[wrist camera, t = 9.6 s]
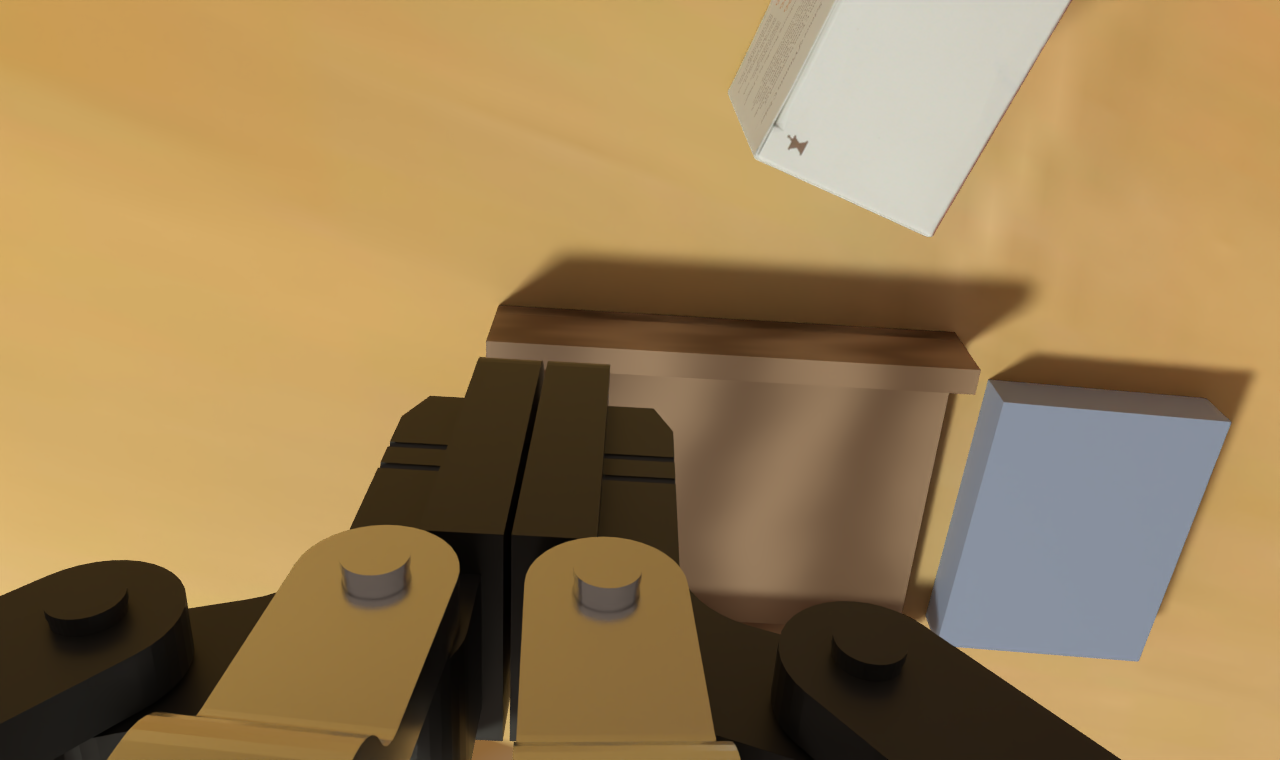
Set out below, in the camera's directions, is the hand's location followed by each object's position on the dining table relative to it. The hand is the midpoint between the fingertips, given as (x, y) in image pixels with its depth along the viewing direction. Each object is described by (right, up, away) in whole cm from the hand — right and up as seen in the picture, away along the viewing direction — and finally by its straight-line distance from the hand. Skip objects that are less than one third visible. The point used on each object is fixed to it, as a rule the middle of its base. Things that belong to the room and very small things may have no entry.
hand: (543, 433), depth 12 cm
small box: (+8, +13, +24) cm, 29 cm away
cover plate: (+19, -5, +33) cm, 38 cm away
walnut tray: (+4, -4, +32) cm, 32 cm away
